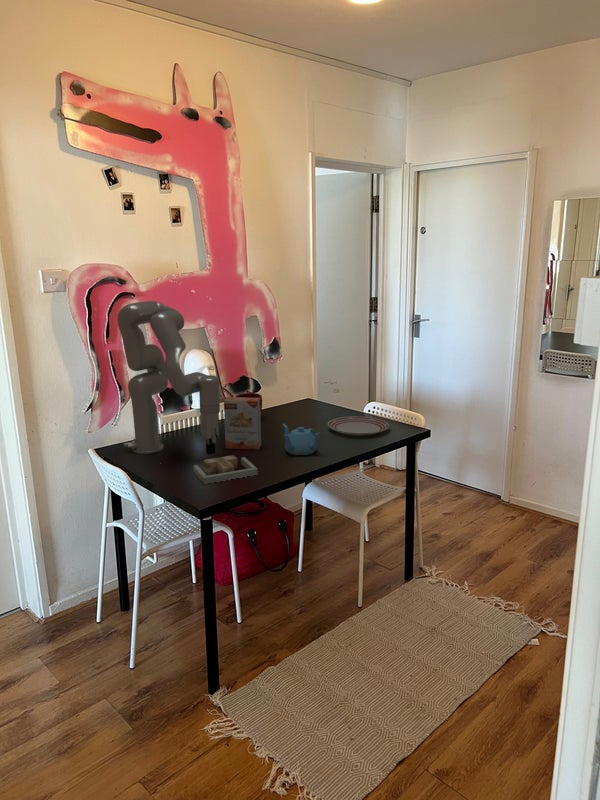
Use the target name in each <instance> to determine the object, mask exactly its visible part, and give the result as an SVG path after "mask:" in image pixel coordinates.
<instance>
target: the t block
mask: <svg viewBox="0 0 600 800" xmlns="http://www.w3.org/2000/svg"><path fill="white" fill-rule="evenodd" d="M202 462H203V463H202V464H203V471H204V470H205V471H204V473H205V474H211V473H210V472H213V473H217V474H221V473H227V472H232V471H235V469H234V468H236V469H239V468H238V467H239V466H238V465H239V463H238V462H239V461H238V457H236V455H235V454H233V455H226V456H221V457H219V456H218V457H213V458H207V459H203V460H202Z"/></svg>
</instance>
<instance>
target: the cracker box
mask: <svg viewBox="0 0 600 800" xmlns="http://www.w3.org/2000/svg"><path fill="white" fill-rule="evenodd" d="M223 412H224V414H223V417H224V437H225V449H227V450H231V449H232V450H251V449H252V450H253V451H254V450H255V451H256V450H257V451H259V450H260V448H261V446H262V423H261V422H262V421H261V420H262V417H260V414H261V413H260V398H244V397H235V396H227V397H226V398H225V399H224V400H223ZM252 450H251V451H252Z"/></svg>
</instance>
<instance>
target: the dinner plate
mask: <svg viewBox="0 0 600 800" xmlns="http://www.w3.org/2000/svg"><path fill="white" fill-rule="evenodd" d="M327 426H328V427H329V428H330V429H331V430H332V431H335V432H337V433H340V434H342V435H345V436H351V437H369V436H373V434H374V435H376V434H379V433H382V432H384V431H386V430H388V429H389V428H390V424H389V423H388V422H387V421H385V420H382V419H380V418H374V417H370V416H369V417H368V416H355V415H354V416H341V417H337V418H333V419H331V420H329V421H328V422H327Z"/></svg>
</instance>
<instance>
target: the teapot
mask: <svg viewBox="0 0 600 800" xmlns="http://www.w3.org/2000/svg"><path fill="white" fill-rule="evenodd" d="M282 426H283V428H284V434H283V437H284V441H285V442H284V450H285V451H286V452H287V453H289V454H290V455H292V456H297V455H305V456H309V454H310V455H312V454H314V453H315V452H316V451H317V449H318V445H319V435H320V434H321V432H315V430H314V429H313V428H305V427H304V426H298V427H297V428H295V429H292V430H291V431H290V429H289V427H288V425H286V424H285V423H282Z"/></svg>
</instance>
